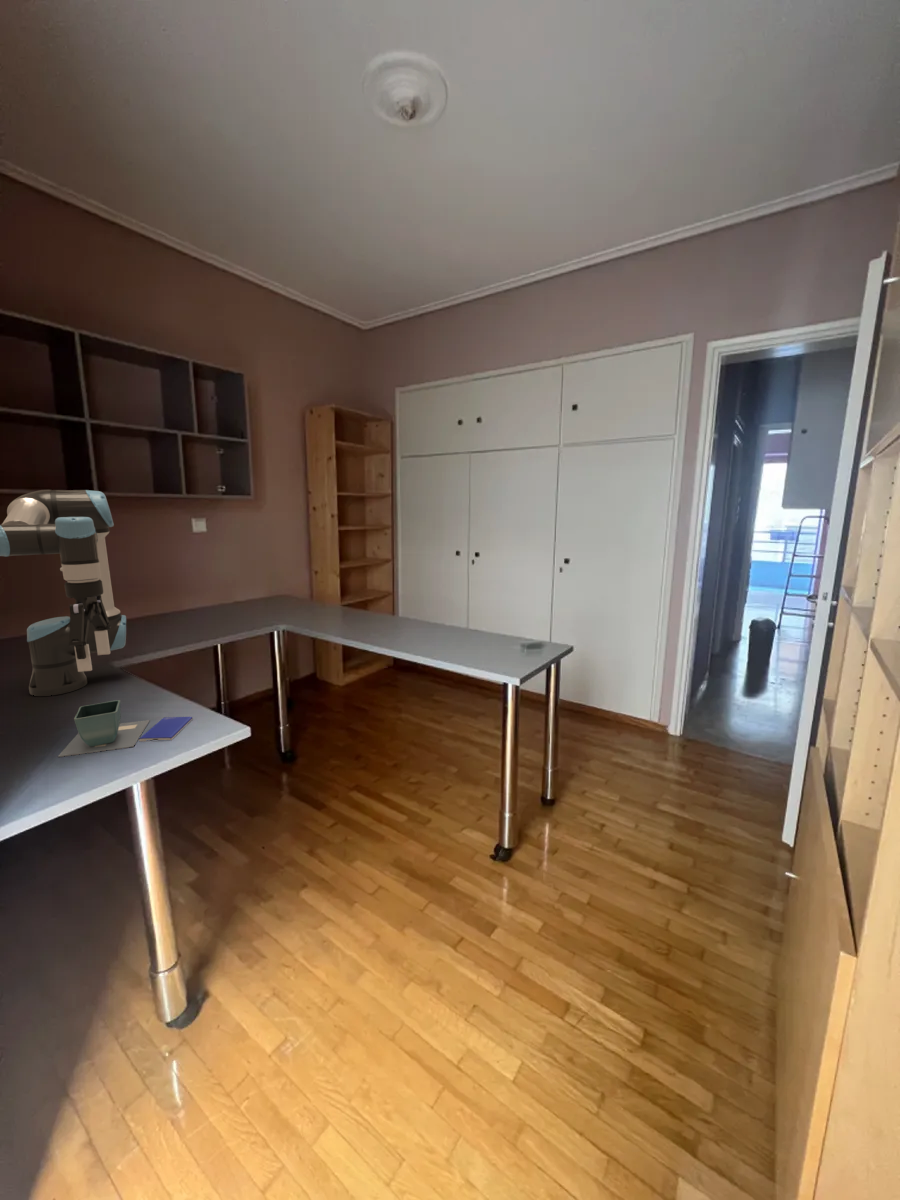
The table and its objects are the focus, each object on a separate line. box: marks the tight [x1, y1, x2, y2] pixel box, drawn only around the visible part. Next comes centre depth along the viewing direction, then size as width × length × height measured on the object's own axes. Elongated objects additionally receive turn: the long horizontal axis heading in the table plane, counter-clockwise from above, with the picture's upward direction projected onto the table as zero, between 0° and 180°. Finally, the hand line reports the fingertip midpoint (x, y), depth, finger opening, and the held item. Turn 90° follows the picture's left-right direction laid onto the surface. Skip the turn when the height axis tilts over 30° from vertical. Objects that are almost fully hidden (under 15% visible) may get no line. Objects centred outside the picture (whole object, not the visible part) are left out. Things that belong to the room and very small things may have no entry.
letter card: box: [57, 719, 151, 758], centre depth 128 cm, size 16×16×1 cm
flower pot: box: [73, 699, 122, 747], centre depth 125 cm, size 9×9×9 cm
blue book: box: [138, 716, 194, 742], centre depth 133 cm, size 2×8×12 cm
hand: (95, 662), depth 124 cm, fingers open, 13 cm apart
